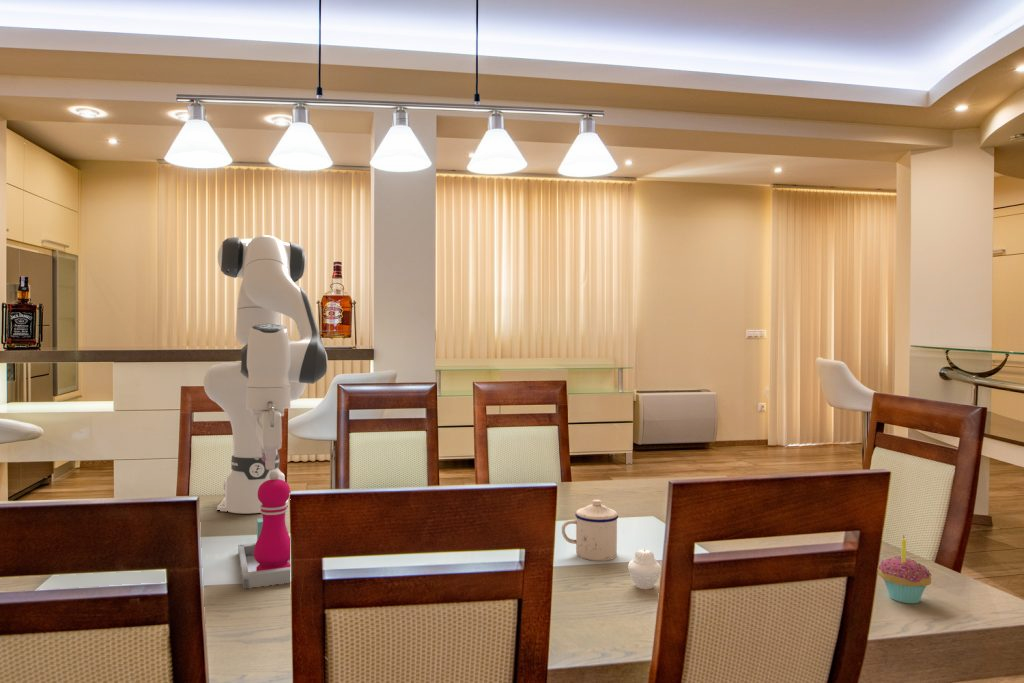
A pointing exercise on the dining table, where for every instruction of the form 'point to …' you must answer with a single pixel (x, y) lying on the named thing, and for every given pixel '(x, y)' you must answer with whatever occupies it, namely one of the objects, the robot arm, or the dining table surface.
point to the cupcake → (904, 577)
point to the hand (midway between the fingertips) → (268, 465)
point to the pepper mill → (273, 525)
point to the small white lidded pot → (644, 569)
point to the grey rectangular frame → (265, 575)
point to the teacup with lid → (594, 532)
